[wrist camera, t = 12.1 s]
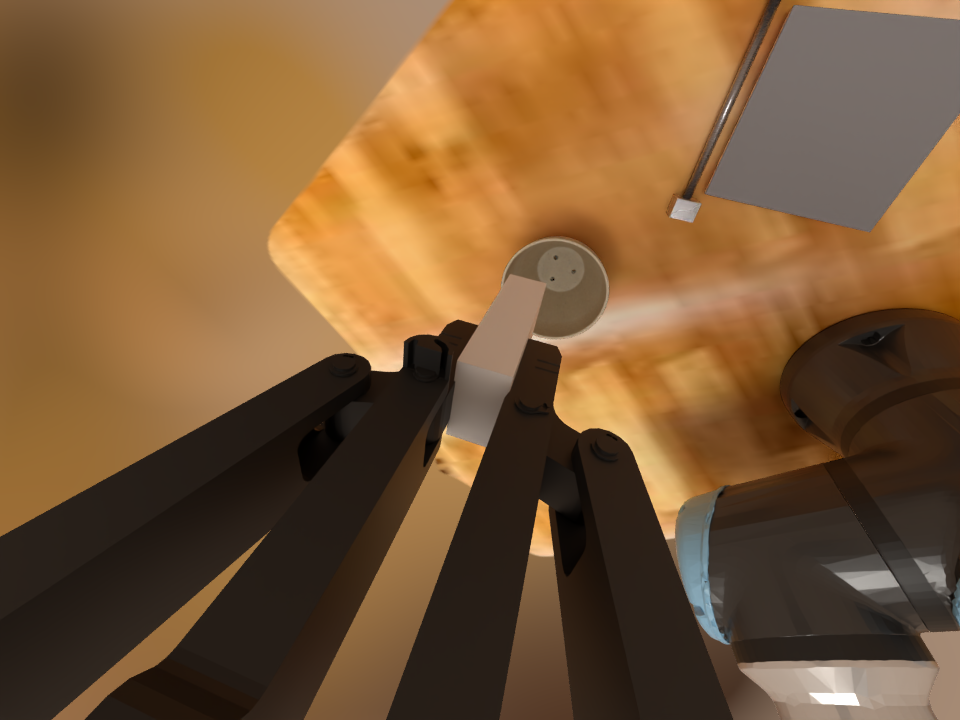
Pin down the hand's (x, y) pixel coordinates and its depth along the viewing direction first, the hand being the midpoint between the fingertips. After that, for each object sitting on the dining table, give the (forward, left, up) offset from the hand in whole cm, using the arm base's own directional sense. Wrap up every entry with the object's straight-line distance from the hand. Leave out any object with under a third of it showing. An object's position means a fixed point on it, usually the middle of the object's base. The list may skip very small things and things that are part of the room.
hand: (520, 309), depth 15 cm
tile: (-17, -9, -23) cm, 30 cm away
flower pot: (-1, +7, -27) cm, 28 cm away
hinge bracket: (-10, -9, -26) cm, 30 cm away
